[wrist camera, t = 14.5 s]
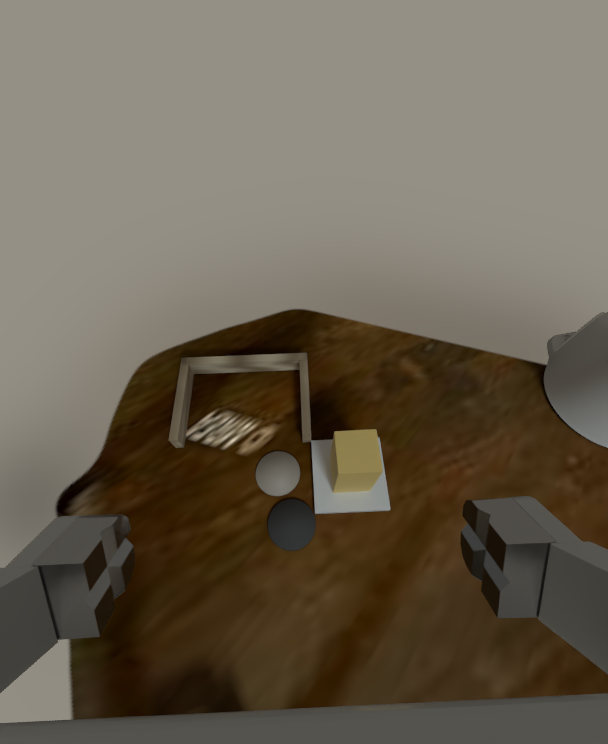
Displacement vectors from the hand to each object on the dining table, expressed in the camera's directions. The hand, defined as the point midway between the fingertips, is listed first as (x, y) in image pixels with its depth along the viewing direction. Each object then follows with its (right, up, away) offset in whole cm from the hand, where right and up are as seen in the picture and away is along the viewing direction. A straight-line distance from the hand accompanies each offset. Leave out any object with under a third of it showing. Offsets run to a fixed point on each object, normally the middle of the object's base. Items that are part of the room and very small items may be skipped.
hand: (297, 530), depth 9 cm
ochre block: (+5, -8, +31) cm, 32 cm away
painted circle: (-3, -8, +32) cm, 33 cm away
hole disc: (-1, -12, +29) cm, 32 cm away
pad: (+5, -8, +32) cm, 33 cm away
